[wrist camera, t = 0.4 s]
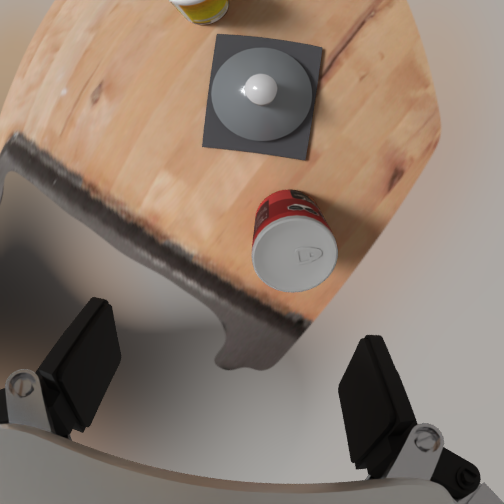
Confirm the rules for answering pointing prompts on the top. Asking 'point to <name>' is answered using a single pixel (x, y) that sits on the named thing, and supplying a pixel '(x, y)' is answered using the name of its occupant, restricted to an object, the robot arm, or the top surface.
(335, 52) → the top surface
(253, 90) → the lid
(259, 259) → the canned food
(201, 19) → the supplement bottle
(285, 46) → the mat
